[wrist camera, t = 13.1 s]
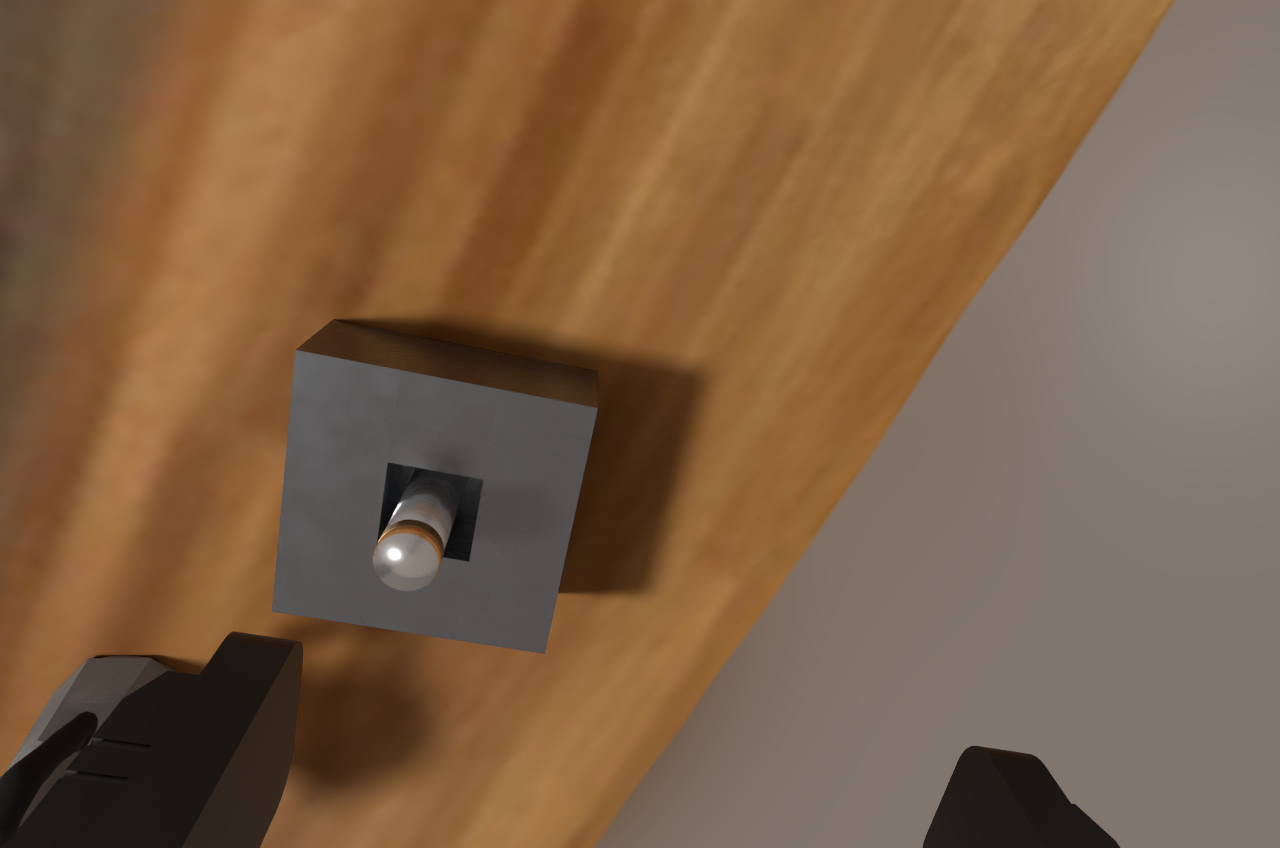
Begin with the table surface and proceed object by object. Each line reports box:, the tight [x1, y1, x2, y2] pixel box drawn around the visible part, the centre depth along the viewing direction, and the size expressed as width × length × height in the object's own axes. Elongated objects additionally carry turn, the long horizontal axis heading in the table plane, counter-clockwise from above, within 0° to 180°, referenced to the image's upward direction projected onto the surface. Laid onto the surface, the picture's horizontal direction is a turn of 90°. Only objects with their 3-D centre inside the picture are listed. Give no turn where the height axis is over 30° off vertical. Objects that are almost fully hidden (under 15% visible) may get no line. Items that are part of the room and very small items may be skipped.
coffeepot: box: [0, 655, 177, 848], centre depth 43 cm, size 15×9×18 cm, turn 156°
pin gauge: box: [372, 468, 469, 591], centre depth 42 cm, size 3×3×10 cm
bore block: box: [272, 320, 598, 654], centre depth 45 cm, size 14×14×6 cm
